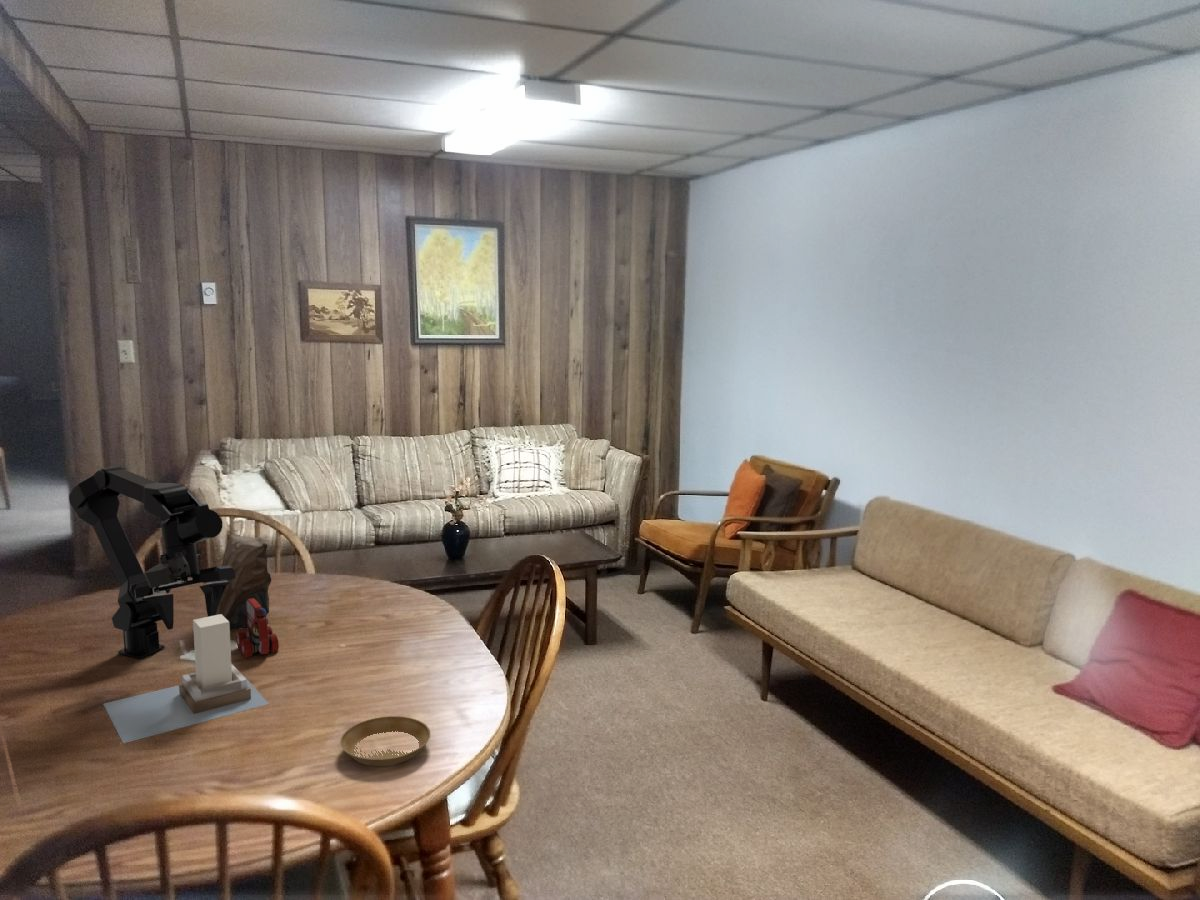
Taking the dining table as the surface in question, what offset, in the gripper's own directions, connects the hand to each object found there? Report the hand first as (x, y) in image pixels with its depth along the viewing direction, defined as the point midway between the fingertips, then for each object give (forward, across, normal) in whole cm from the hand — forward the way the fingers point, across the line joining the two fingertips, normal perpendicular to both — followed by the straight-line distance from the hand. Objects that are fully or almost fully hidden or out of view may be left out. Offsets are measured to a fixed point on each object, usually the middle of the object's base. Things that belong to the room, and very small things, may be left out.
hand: (190, 625), depth 165 cm
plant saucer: (+28, +43, -14) cm, 53 cm away
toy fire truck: (+8, +2, +17) cm, 19 cm away
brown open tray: (+14, +6, -5) cm, 16 cm away
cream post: (+12, +7, -5) cm, 15 cm away
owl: (+1, -10, +30) cm, 32 cm away
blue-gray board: (+15, +3, -8) cm, 17 cm away
